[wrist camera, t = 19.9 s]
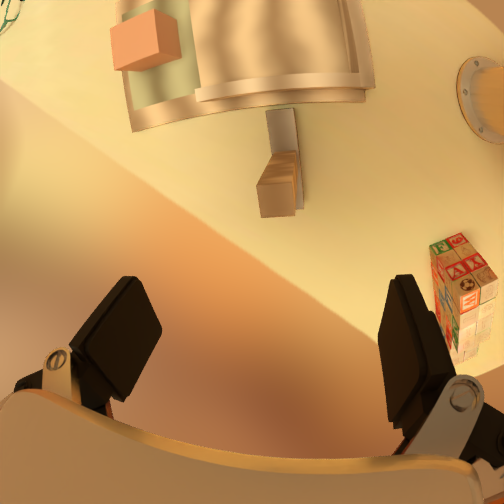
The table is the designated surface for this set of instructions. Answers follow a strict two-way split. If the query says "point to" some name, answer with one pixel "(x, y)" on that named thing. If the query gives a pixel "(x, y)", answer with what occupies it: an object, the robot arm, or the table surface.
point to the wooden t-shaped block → (281, 168)
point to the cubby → (250, 57)
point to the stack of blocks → (462, 296)
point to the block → (145, 42)
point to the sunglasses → (6, 14)
